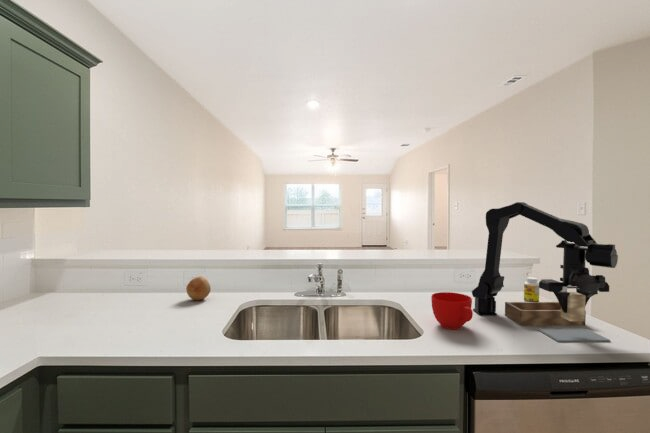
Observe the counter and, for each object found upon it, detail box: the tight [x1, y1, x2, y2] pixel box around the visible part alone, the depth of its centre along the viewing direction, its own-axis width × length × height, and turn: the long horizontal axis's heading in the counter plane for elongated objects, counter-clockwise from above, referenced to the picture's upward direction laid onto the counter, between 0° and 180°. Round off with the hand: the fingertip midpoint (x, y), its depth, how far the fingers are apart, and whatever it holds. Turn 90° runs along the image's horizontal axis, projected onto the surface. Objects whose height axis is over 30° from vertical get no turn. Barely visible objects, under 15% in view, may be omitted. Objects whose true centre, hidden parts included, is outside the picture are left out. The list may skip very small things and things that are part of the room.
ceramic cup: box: [431, 291, 473, 330], centre depth 122 cm, size 13×17×10 cm
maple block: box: [561, 291, 586, 322], centre depth 114 cm, size 4×4×8 cm
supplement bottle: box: [523, 276, 540, 302], centre depth 152 cm, size 6×6×10 cm
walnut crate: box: [504, 301, 587, 327], centre depth 129 cm, size 22×11×5 cm, turn 91°
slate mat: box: [537, 327, 611, 343], centre depth 115 cm, size 16×10×1 cm, turn 91°
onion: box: [185, 275, 211, 302], centre depth 157 cm, size 10×10×10 cm
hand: (572, 312), depth 114 cm, fingers closed on maple block, 4 cm apart
